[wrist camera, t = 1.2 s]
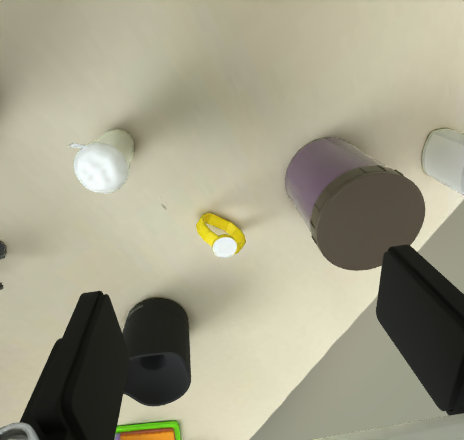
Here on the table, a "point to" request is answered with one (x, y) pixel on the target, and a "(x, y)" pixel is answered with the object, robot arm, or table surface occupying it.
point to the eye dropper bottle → (445, 158)
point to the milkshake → (104, 161)
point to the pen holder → (157, 352)
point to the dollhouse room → (149, 431)
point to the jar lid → (366, 216)
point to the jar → (320, 170)
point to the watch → (222, 243)
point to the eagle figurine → (2, 256)
